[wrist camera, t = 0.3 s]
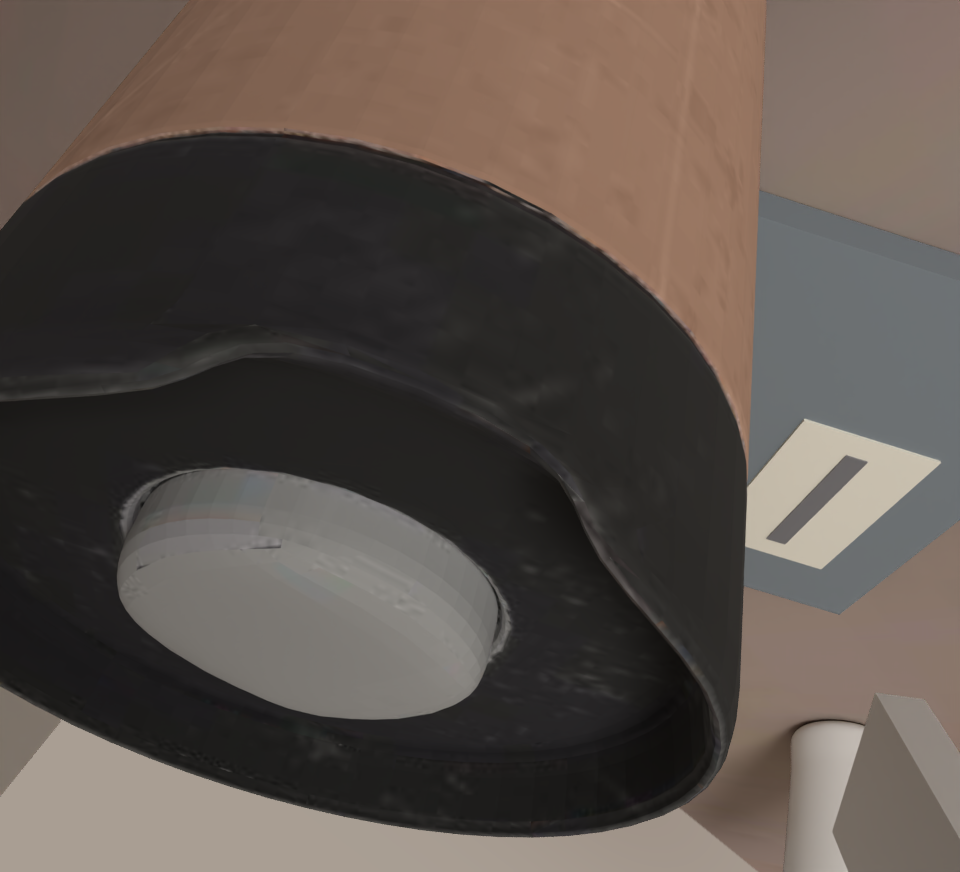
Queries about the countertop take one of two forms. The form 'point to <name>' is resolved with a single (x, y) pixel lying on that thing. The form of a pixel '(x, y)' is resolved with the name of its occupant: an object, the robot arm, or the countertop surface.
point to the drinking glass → (818, 793)
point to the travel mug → (395, 407)
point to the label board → (848, 404)
